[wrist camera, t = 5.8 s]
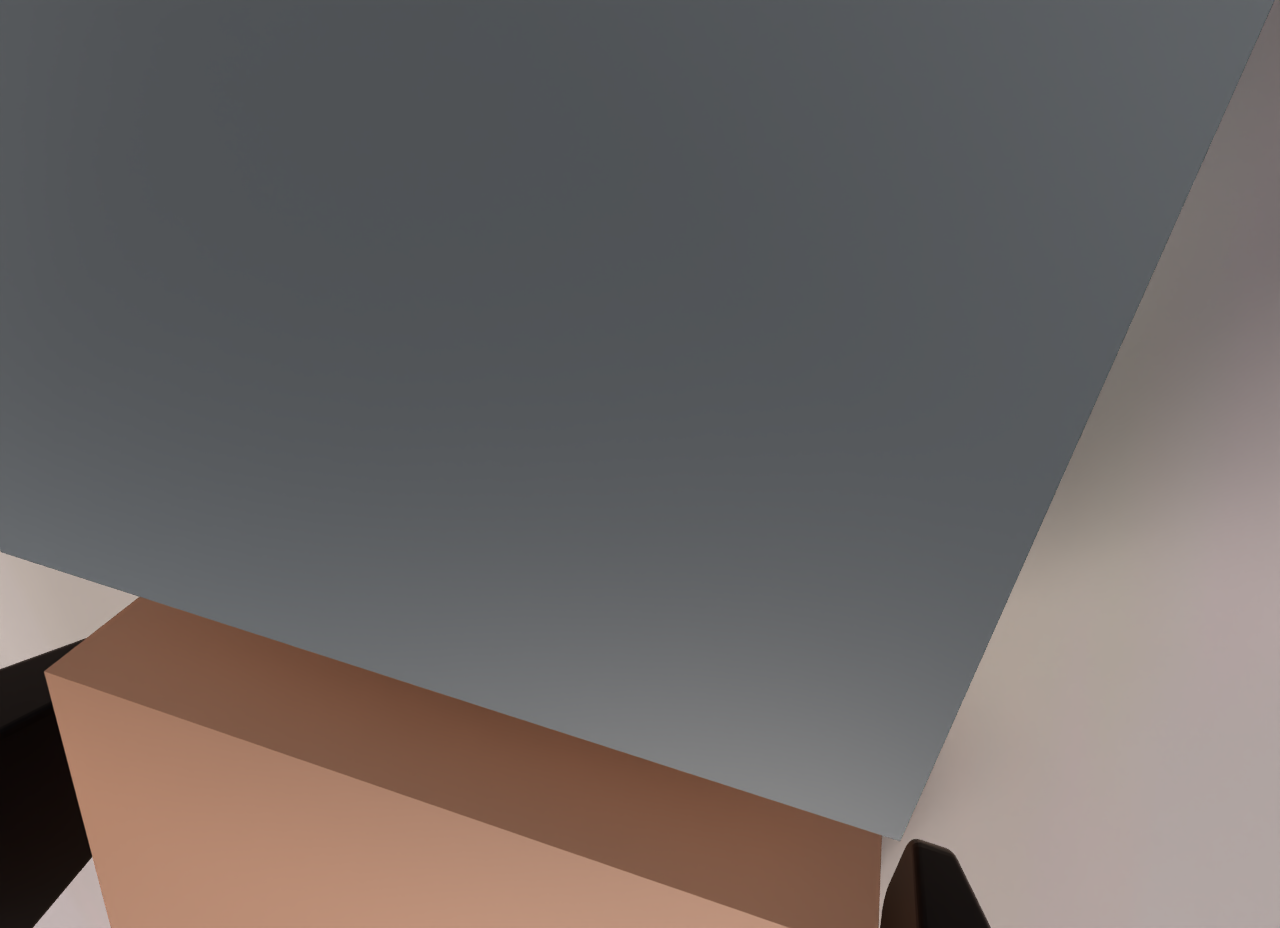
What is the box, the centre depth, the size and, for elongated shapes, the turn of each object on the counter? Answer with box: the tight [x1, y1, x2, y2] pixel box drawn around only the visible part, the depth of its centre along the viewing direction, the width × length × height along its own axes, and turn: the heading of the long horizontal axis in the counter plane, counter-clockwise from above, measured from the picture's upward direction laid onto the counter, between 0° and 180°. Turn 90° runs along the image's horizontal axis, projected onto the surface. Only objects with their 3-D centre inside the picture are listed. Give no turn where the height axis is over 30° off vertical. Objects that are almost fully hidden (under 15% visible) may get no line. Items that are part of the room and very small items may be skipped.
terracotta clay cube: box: [44, 597, 882, 928], centre depth 10 cm, size 6×5×6 cm
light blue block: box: [0, 0, 1274, 841], centre depth 7 cm, size 6×5×6 cm
